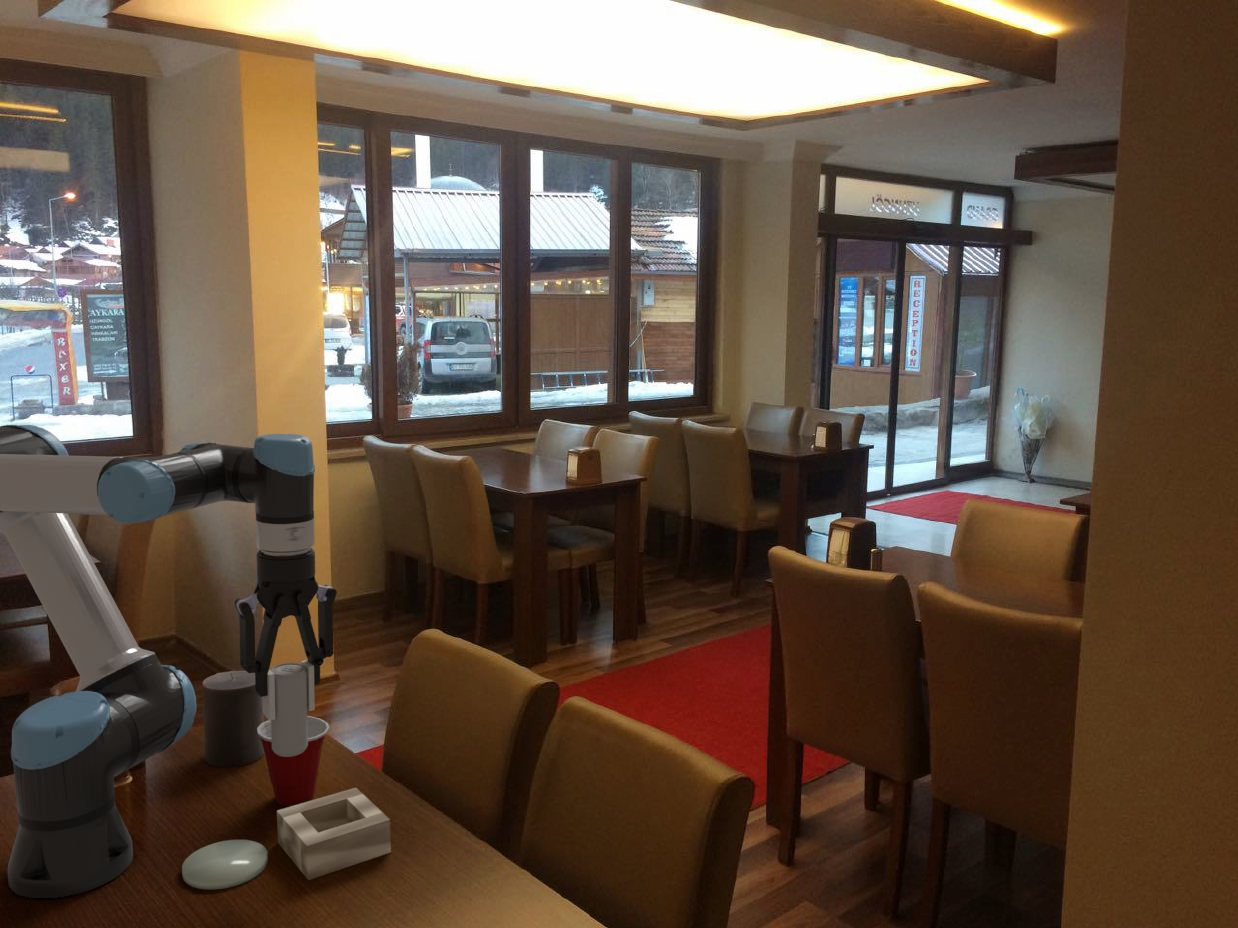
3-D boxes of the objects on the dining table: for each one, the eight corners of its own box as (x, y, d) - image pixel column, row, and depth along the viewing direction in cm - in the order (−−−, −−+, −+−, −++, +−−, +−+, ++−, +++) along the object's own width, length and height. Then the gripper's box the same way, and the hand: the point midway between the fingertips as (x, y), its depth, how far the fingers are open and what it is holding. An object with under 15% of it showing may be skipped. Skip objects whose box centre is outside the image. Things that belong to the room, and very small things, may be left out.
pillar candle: (229, 773, 169) (225, 686, 166) (193, 758, 174) (189, 674, 172) (277, 752, 177) (274, 670, 175) (241, 739, 182) (238, 658, 180)
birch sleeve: (278, 842, 147) (276, 810, 146) (357, 818, 154) (356, 787, 153) (308, 880, 138) (307, 845, 137) (390, 852, 145) (390, 819, 144)
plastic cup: (341, 801, 159) (339, 729, 157) (271, 820, 153) (267, 745, 151) (319, 775, 168) (316, 706, 166) (252, 792, 162) (248, 721, 160)
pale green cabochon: (173, 862, 142) (172, 855, 142) (252, 837, 148) (252, 831, 148) (194, 898, 133) (194, 891, 133) (278, 871, 140) (278, 864, 140)
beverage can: (297, 759, 139) (296, 676, 137) (265, 755, 140) (263, 673, 138) (314, 744, 144) (312, 664, 142) (282, 741, 145) (280, 661, 143)
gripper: (227, 564, 129) (232, 737, 133) (359, 546, 140) (360, 706, 144) (209, 551, 135) (214, 717, 139) (337, 535, 146) (338, 689, 150)
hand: (288, 711), depth 141 cm, fingers closed on beverage can, 5 cm apart
